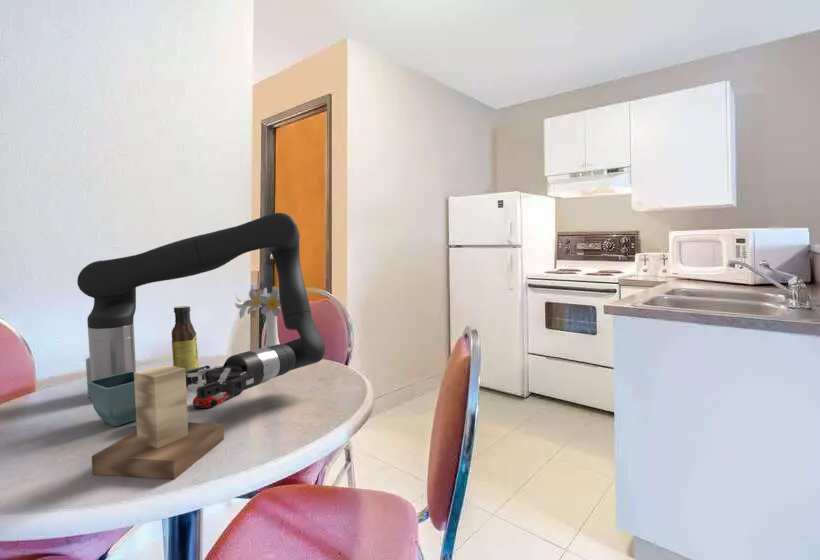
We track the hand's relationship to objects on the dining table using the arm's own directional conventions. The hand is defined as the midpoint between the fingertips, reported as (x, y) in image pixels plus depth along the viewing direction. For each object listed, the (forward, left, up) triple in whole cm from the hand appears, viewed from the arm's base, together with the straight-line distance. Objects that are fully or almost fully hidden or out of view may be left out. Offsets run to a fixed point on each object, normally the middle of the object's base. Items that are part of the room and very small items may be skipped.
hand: (182, 390), depth 76 cm
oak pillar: (-1, -4, -7) cm, 8 cm away
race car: (-8, +23, -11) cm, 27 cm away
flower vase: (-5, +47, -10) cm, 49 cm away
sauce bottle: (-27, +40, -10) cm, 50 cm away
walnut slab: (-1, -4, -10) cm, 11 cm away
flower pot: (-20, +9, -10) cm, 25 cm away
